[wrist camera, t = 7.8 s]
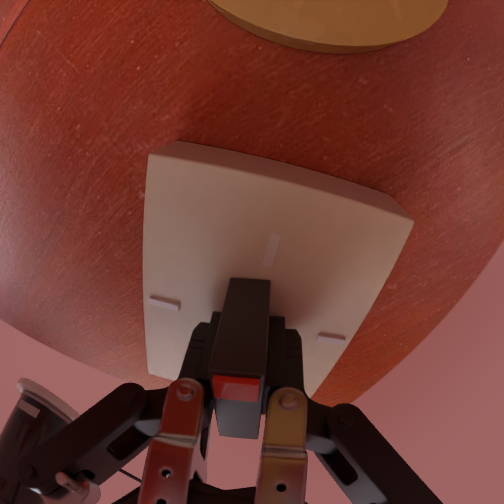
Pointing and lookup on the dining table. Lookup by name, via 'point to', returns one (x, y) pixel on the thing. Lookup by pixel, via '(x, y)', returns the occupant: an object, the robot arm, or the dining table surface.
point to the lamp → (333, 22)
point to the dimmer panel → (261, 249)
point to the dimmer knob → (241, 358)
